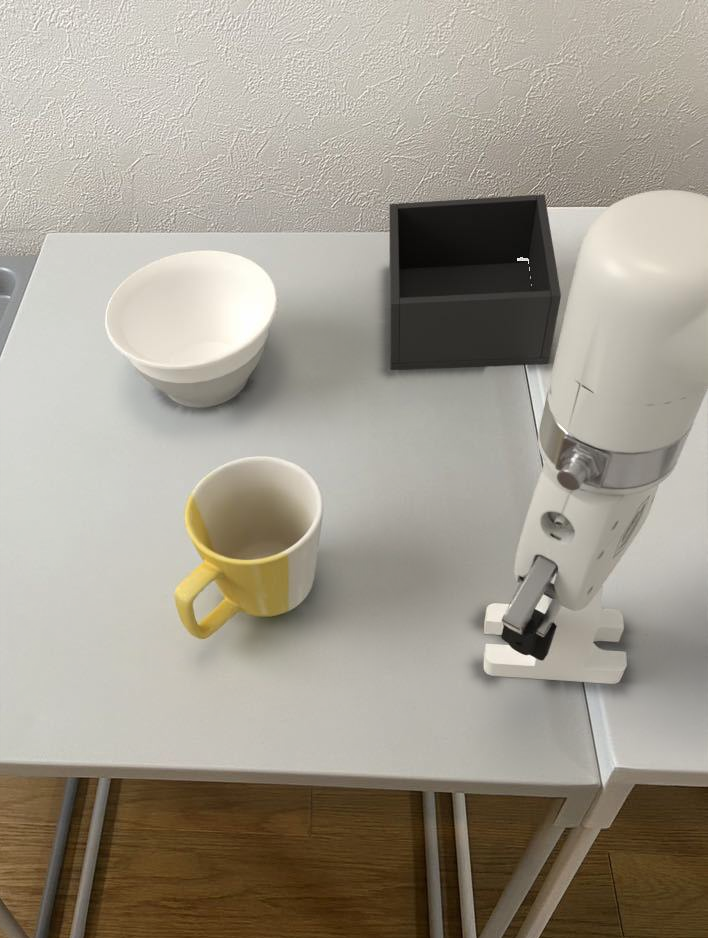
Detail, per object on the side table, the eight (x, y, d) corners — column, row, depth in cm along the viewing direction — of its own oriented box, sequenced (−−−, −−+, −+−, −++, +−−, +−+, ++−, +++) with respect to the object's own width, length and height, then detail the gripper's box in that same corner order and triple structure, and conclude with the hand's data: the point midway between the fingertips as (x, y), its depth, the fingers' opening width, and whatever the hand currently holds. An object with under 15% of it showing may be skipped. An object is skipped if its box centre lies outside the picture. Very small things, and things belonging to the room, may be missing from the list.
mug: (279, 516, 81) (266, 433, 72) (356, 590, 76) (352, 509, 67) (150, 604, 77) (119, 528, 68) (221, 687, 72) (198, 616, 63)
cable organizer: (621, 684, 68) (653, 612, 60) (483, 675, 70) (496, 603, 62) (617, 623, 71) (647, 546, 63) (484, 615, 73) (496, 539, 65)
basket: (534, 263, 95) (544, 193, 88) (548, 363, 87) (561, 295, 80) (389, 271, 97) (389, 203, 90) (390, 370, 89) (390, 304, 82)
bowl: (231, 299, 97) (219, 227, 90) (318, 383, 89) (312, 311, 82) (98, 368, 94) (74, 299, 87) (176, 461, 86) (157, 394, 78)
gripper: (602, 565, 46) (546, 718, 60) (747, 356, 52) (666, 538, 67) (468, 499, 49) (445, 660, 63) (621, 309, 55) (569, 494, 70)
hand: (559, 597), depth 65 cm, fingers open, 9 cm apart
